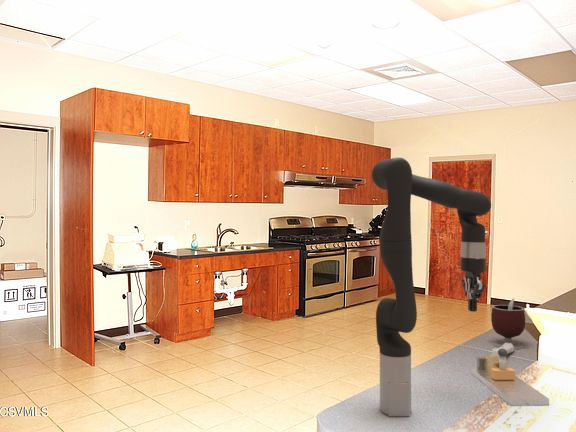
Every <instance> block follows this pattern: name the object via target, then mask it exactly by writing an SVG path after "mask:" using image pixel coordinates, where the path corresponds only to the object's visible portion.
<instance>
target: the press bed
mask: <svg viewBox="0 0 576 432" xmlns="http://www.w3.org/2000/svg"><path fill="white" fill-rule="evenodd" d="M470 374H471V375H473V376H474V377H475V378H477V380H479V381H480V382H481V383H482V384H483V385H485V386H486V387H487V388H489V389H490V390H491V391H492V392H493V393H495V395H497V397H499V398H500V399H502V400H503V401H504V402H505V403H507V405H509V406H549V405H550V399H549V398H548V396H546V395H545V394H543V393H541V392H540V391H538V389H535V388H534V387H532V386H531V385H530V384H528V383H527V382H525V381H524V380H522V379H521V378H520V377H518V376H517V375H515V380H494V379H493V378H492V377H491V375H489V374H488V373H487V372H485V371H484V370H483V356H480V357H479V356H478V357H476V367H470Z"/></svg>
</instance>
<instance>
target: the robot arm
mask: <svg viewBox="0 0 576 432" xmlns="http://www.w3.org/2000/svg"><path fill="white" fill-rule="evenodd" d="M371 180H372V181H373V183H374V185H375V186H377V187H378V188H379V189H381V190H386V193H387V205H386V207H387V208H386V213H385V216H384V219H383V221H382V224H381V227H380V231H379V232H380V233H379V254H380V258H381V261H382V263H383V265H384V267H385V269H386V271H387V272H388V275H389V277H390V278H391V280H392V283H393V287H394V290H395V298H391V297H385V298H383V299H381V300H380V301H379V302H378V304H377V307H376V312H375V325H376V328H375V329H376V342H377V345H378V348H379V410H380V411H381V412H382V413H383V414H385V415H387V417H410V416H411V413H412V345H411V344H410V342H408V340H406V339H404V337H403V336H402V335H401V334H400V333H404V334H407V333H411V332H413V330H414V329H415V327H416V325H417V320H418V319H417V318H418V309H417V303H416V302H417V301H416V293H415V288H414V276H413V247H412V245H413V244H412V222H411V221H412V220H411V219H412V218H411V216H412V215H411V214H412V213H411V212H412V211H411V201H412V196H414V197H417V198H418V197H419V198H421V199H424V200H427V201H429V202H432V203H435V204H437V205H440V206H443V207H446V208H449V209H456V211H457V212H456V213H457V217H458V220H459V225H460V227H461V245H460V260H459V261H460V266H459V268H460V269H459V270H460V271H462V272H464V279H461V284H462V287H463V291H464V296H465V297H466V298H467V299H468V300H467V302H468V303H467V304H468V305H467V310H468V311H469V312H477V311H478V300H479V299H481V297H482V296H483V295H482V294H483V293H484V290H485V287H486V284H485V283H482V275H481V273H485V272H486V271H487V248H486V227H485V225H484V224H481V223H479V222H478V219H477V217H481V216H484V215H485V216H486V214H488V213H489V212H490V210H491V208H492V202H491V200H490V198H489V197H488V196H487V195H486V194H485V193H483V192H479V191H475V190H472V189H466V188H462V187H458V186H456V185H453V184H451V183H449V182H445V181H443V180H439V179H435V178H430V177H425V176H424V177H423V176H419V175H416V174H413V170H412V167H411V164H410V163H409V161H408V160H406V158H403V157H392V158H387V159H383V160H381V161H379V162H378V163H376V164H375V165H374V166H373V168H372V171H371Z"/></svg>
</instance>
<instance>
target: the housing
mask: <svg viewBox="0 0 576 432" xmlns="http://www.w3.org/2000/svg"><path fill="white" fill-rule="evenodd" d="M482 357H483V370H484V371H485V372H487V373H488V374H489V375H491V368H499V357H497V356H492V355H488V356H487V355H486V356H485V355H483V356H482ZM508 366H509V365H508V362H507V361H506V368H509V367H508Z"/></svg>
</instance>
